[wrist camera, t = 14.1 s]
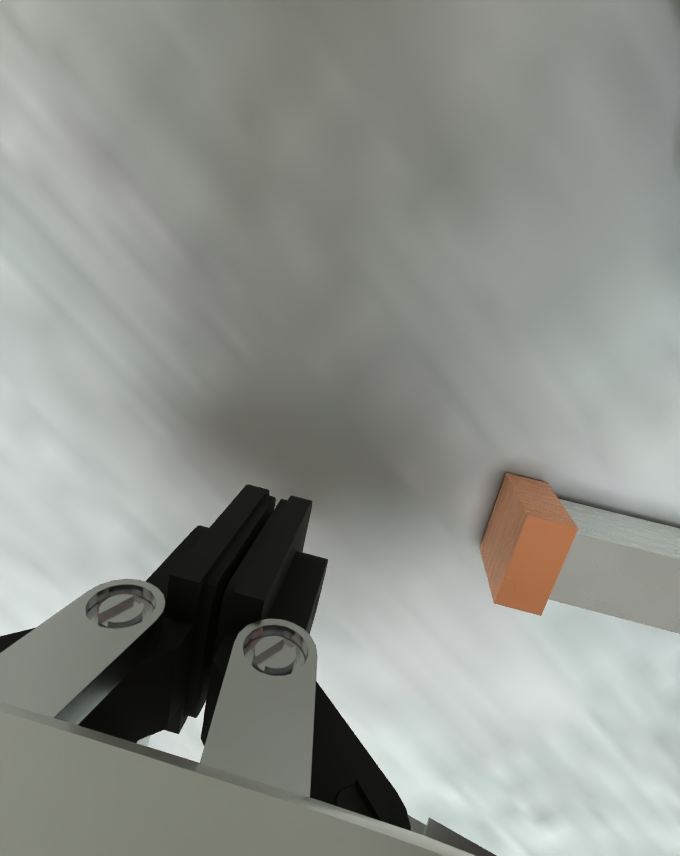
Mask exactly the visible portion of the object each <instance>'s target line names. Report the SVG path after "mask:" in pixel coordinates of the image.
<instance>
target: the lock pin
mask: <svg viewBox="0 0 680 856" xmlns="http://www.w3.org/2000/svg"><path fill="white" fill-rule="evenodd" d="M480 551H481V555H482V558H483V562H484V566H485V570H486V574H487V578H488V582H489V585H490V589H491V593H492V597H493V601H494V603H495V604H499V605H503V606H506V607H510V608H514V609H518V610H522V611H525V612H529V613H533V614H537V615H540V616H541V615H542V612H543V610H544V608H545V605H546V603H547V601H548V599H550V600H554V601H558V602H561V603H565V604H569V605H573V606H577V607H580V608H584V609H588V610H592V611H596V612H599V613H603V614H607V615H611V616H615V617H618V618H622V619H626V620H630V621H634V622H638V623H641V624H645V625H649V626H653V627H657V628H660V629H664V630H668V631H672V632H676V633H679V634H680V528H675V527H671V526H667V525H663V524H659V523H655V522H651V521H647V520H643V519H639V518H635V517H631V516H627V515H623V514H618V513H614V512H610V511H606V510H602V509H598V508H594V507H590V506H586V505H582V504H578V503H574V502H570V501H566V500H561V499H558V497H557V496H556V494H555V493H554V491H553V490H552V489H551V487H550V486H549V484H548V483H546V482H542V481H538V480H533V479H529V478H525V477H521V476H517V475H513V474H509V473H506V475H505V478H504V481H503V484H502V487H501V489H500V492H499V495H498V498H497V501H496V503H495V506H494V509H493V512H492V515H491V518H490V520H489V523H488V526H487V529H486V532H485V535H484V537H483V540H482V543H481V546H480Z"/></svg>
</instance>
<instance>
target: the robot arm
mask: <svg viewBox="0 0 680 856" xmlns="http://www.w3.org/2000/svg"><path fill="white" fill-rule="evenodd" d="M275 501H276V498H275V497H272V496H269V490H267V489H263V488H260V487H256V486H252V485H248V484H247V485H246V486H245V487H244V488H243V490H242V491H241V492H240V493H239V494H238V495H237V497H236V498H235V499H234V500H233V501H232V502H231V503H230V505H229V506H228V507H227V508H226V509H225V510H224V512H223V513H222V514H221V515H220V516H219V517H218V519H217V520H216V521H215V522H214V523H213V524H212V525H211V527H210V528H208V527H204V526H197V527H196V528H195V529H194V530H193V531H192V532H191V533H190V534H189V535H188V536H187V537H186V538H185V539H184V541H183V542H182V543H181V544H180V545H179V546H178V547H177V548H176V549H175V550H174V551H173V552H172V553H171V555H170V556H169V557H168V558H167V559H166V560H165V561H164V562H163V563H162V564H161V565H160V566H159V568H158V569H157V570H156V571H155V572H154V573H153V574H152V575H151V576H150V577H149V578H148V579H147V580H146V582H144V581H141V580H133V579H122V580H114V581H110V582H106V583H103V584H100V585H98V586H96V587H94V588H93V589H91V590H89V591H87V592H86V593H85V594H83V595H82V596H80V597H79V598H77V599H76V600H75V601H73V602H72V603H70V604H69V605H68V606H66V607H65V608H63V609H62V610H60V611H59V612H58V613H56V614H55V615H53V616H52V617H51V618H49V619H48V620H46V621H45V622H43V623H42V624H41V625H39V626H38V627H36V628H33V629H29V630H25V631H21V632H16V633H12V634H8V635H4V636H0V856H496V855H494V854H493V853H491V852H489V851H487V850H485V849H484V848H482V847H480V846H478V845H477V844H475V843H473V842H471V841H470V840H468V839H466V838H464V837H463V836H461V835H459V834H457V833H456V832H454V831H452V830H450V829H449V828H447V827H445V826H443V825H442V824H440V823H438V822H436V821H435V820H433V819H431V818H429V819H428V821H427V824H426V825H425V824H423V823H421V822H420V821H418V820H416V819H414V818H413V817H411V816H409V815H408V814H407V811H406V808H405V806H404V804H403V802H402V800H401V799H400V797H399V795H398V793H397V792H396V790H395V789H394V788H393V786H392V785H391V783H390V782H389V781H388V779H387V778H386V777H385V775H384V774H383V772H382V771H381V770H380V768H379V767H378V766H377V764H376V763H375V761H374V760H373V759H372V757H371V756H370V755H369V753H368V752H367V750H366V749H365V748H364V746H363V745H362V744H361V742H360V741H359V739H358V738H357V737H356V735H355V734H354V732H353V731H352V730H351V728H350V727H349V726H348V724H347V723H346V721H345V720H344V719H343V717H342V716H341V715H340V713H339V712H338V710H337V709H336V708H335V706H334V705H333V704H332V702H331V701H330V699H329V698H328V697H327V695H326V694H325V693H324V691H323V690H322V688H321V687H320V686H319V684H318V683H317V682H316V671H317V650H316V645H315V643H314V641H313V639H312V637H311V636H310V635H309V634H310V631H311V627H312V624H313V620H314V617H315V613H316V609H317V605H318V601H319V597H320V593H321V589H322V585H323V580H324V576H325V572H326V567H327V562H328V559H325V558H321V557H317V556H313V555H310V554H306V553H302V551H303V546H304V542H305V537H306V532H307V527H308V523H309V518H310V513H311V508H312V501H310V500H306V499H303V498H299V497H295V496H290V498H289V499H288V501H287V500H283V499H281V500H280V502H279V503H278V505H277V506H276V508H275V510H274V507H275ZM205 701H206V706H205V712H204V721H203V727H202V733H201V740H202V742H203V745H204V750H203V753H202V757H201V760H200V763H198V762H195V761H192V760H188V759H185V758H182V757H179V756H176V755H172V754H169V753H166V752H163V751H159V750H156V749H153V748H150V747H147V746H148V743H149V739H150V735H152V734H155V733H157V732H159V731H162V730H167V731H170V732H173V733H177V734H179V732H180V731H181V729H182V727H183V725H184V723H185V721H186V719H187V717H188V716H191V717H194V718H196V717H197V716H198V715H199V713H200V711H201V709H202V707H203V705H204V703H205Z"/></svg>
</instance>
